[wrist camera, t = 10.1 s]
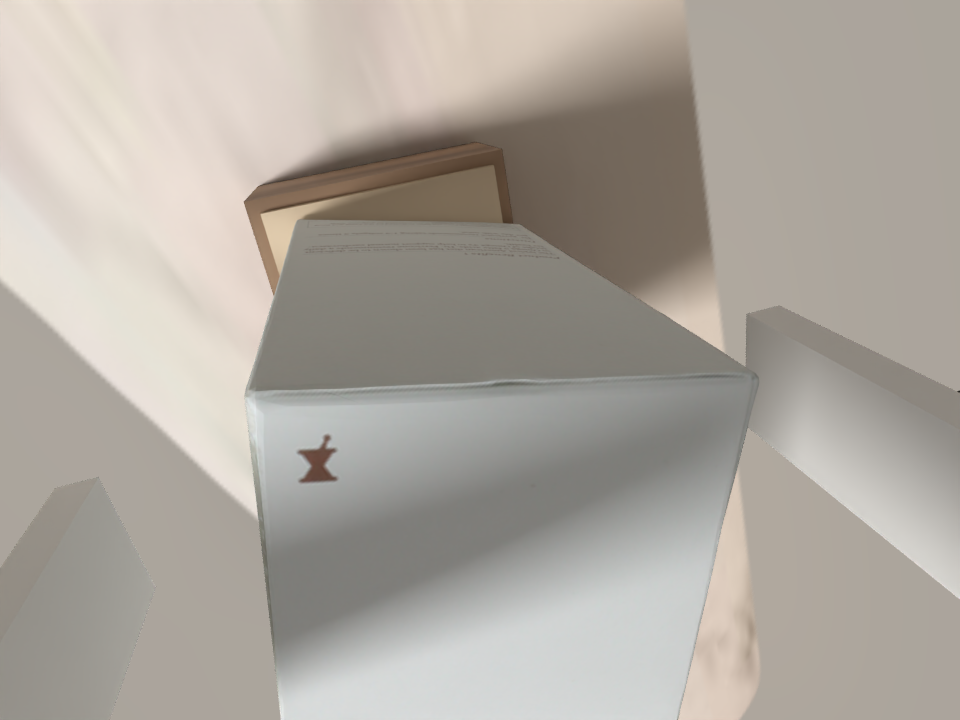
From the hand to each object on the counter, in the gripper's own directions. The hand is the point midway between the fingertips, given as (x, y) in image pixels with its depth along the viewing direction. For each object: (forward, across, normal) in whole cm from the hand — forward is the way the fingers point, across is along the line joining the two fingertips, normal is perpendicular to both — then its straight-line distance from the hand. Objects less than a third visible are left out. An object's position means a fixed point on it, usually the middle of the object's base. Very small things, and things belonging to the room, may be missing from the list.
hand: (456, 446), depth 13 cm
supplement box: (+9, 0, -1) cm, 9 cm away
